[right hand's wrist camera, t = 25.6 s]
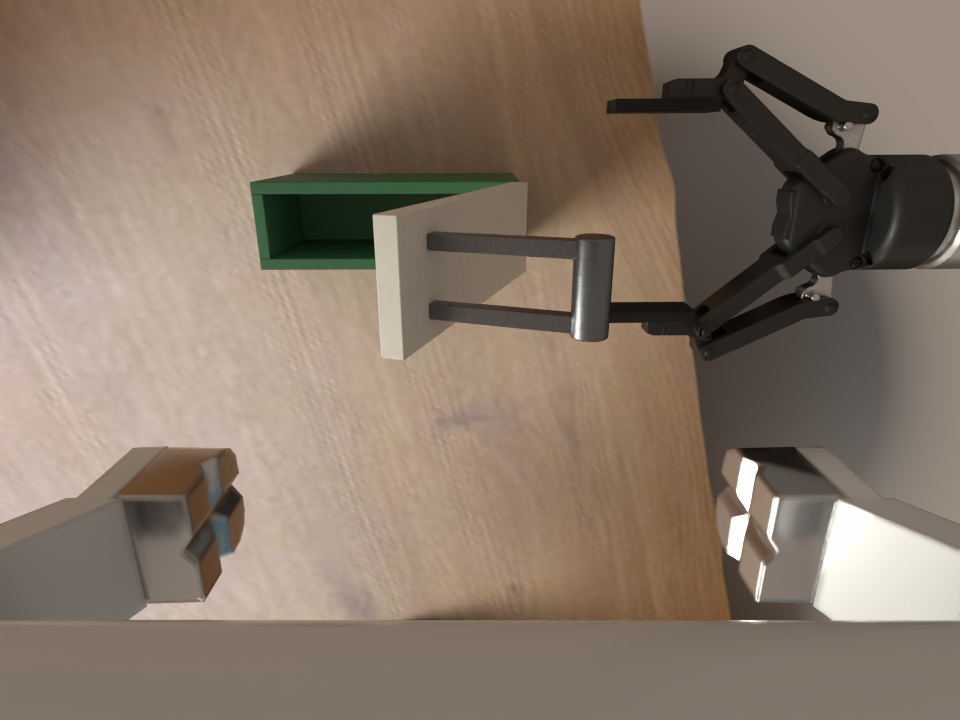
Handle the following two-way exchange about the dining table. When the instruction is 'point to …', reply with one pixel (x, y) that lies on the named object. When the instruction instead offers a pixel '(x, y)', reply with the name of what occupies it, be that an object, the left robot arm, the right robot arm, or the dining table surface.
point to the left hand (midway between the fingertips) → (603, 215)
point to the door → (478, 269)
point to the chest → (341, 213)
